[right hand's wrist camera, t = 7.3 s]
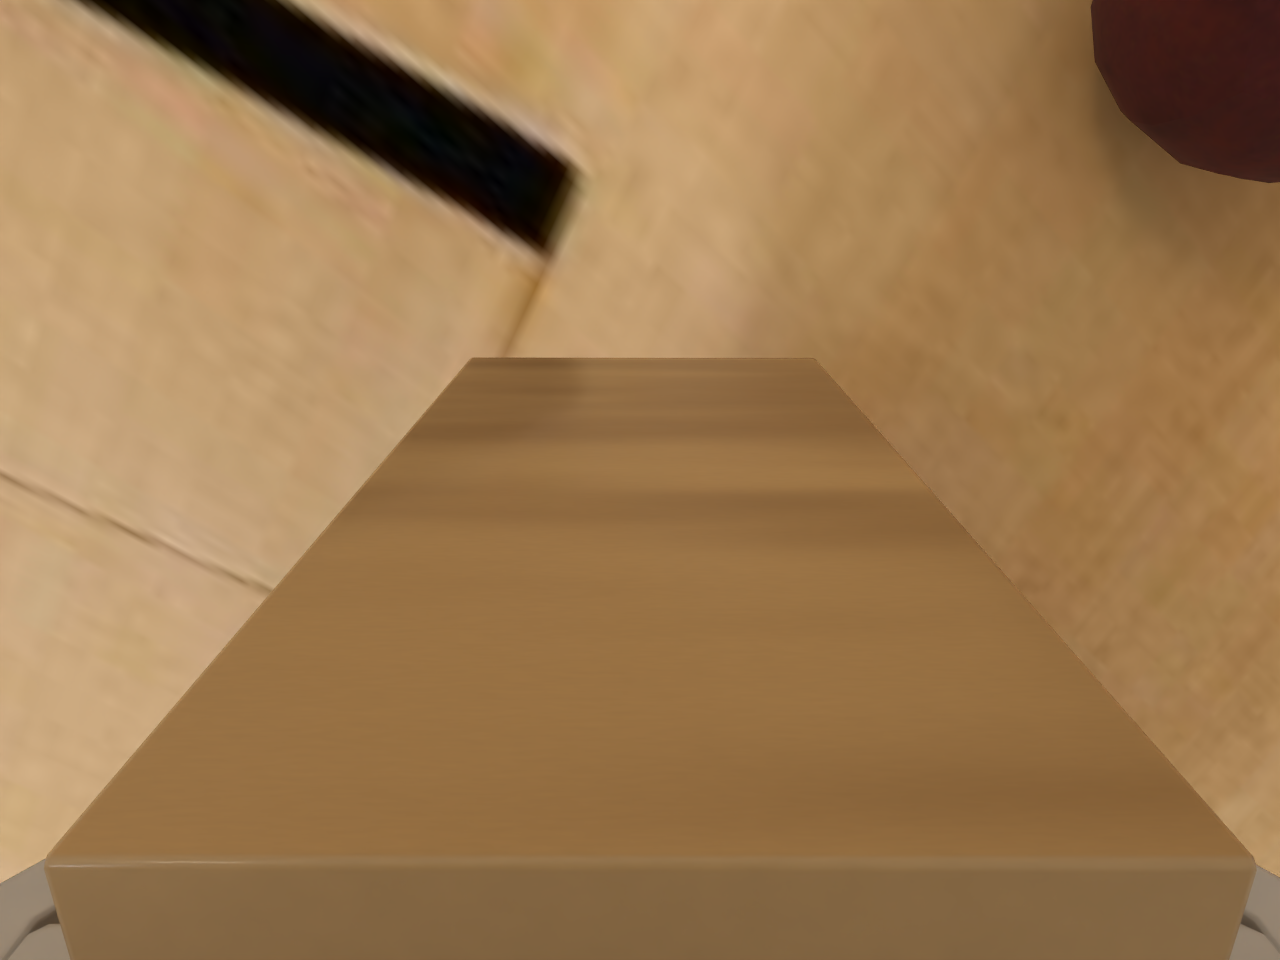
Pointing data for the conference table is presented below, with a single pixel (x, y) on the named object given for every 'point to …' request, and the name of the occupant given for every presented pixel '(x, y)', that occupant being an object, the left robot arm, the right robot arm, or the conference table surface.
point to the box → (647, 714)
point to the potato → (1197, 78)
